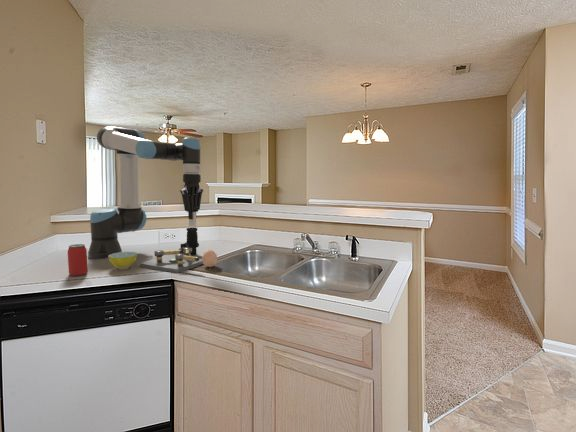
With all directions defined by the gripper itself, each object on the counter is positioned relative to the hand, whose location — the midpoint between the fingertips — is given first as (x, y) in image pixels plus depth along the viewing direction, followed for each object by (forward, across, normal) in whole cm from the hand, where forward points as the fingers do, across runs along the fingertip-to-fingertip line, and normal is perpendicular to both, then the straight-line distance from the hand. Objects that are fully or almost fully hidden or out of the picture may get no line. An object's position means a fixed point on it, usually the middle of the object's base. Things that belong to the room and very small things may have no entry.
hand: (192, 226), depth 152 cm
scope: (+19, +18, +16) cm, 30 cm away
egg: (+19, +2, -8) cm, 20 cm away
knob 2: (+16, -8, -3) cm, 18 cm away
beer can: (+19, -32, +32) cm, 49 cm away
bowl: (+19, -18, +24) cm, 35 cm away
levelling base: (+18, -2, +9) cm, 20 cm away
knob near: (+16, -4, +11) cm, 20 cm away
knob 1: (+16, +1, +4) cm, 17 cm away
